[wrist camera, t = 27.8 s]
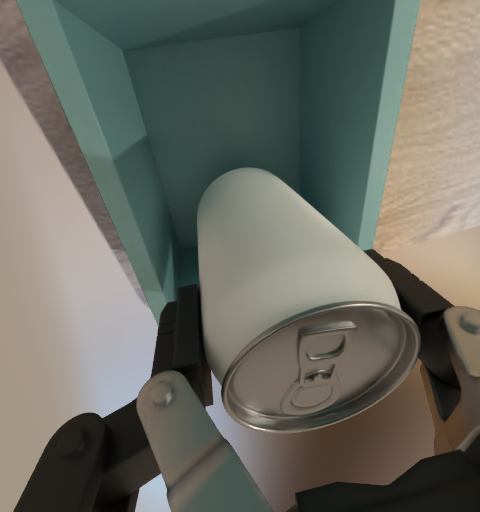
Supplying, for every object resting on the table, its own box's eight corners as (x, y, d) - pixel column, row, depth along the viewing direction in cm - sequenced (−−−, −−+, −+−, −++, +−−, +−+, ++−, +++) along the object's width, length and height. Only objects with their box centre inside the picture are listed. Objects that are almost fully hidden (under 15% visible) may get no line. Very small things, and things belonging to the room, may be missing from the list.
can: (201, 260, 18) (213, 456, 8) (191, 168, 15) (189, 310, 5) (286, 251, 19) (393, 419, 9) (295, 162, 16) (484, 273, 6)
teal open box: (305, 230, 25) (363, 296, 16) (173, 255, 24) (163, 339, 15) (309, 8, 16) (439, -95, 8) (103, 34, 15) (-9, -51, 7)
